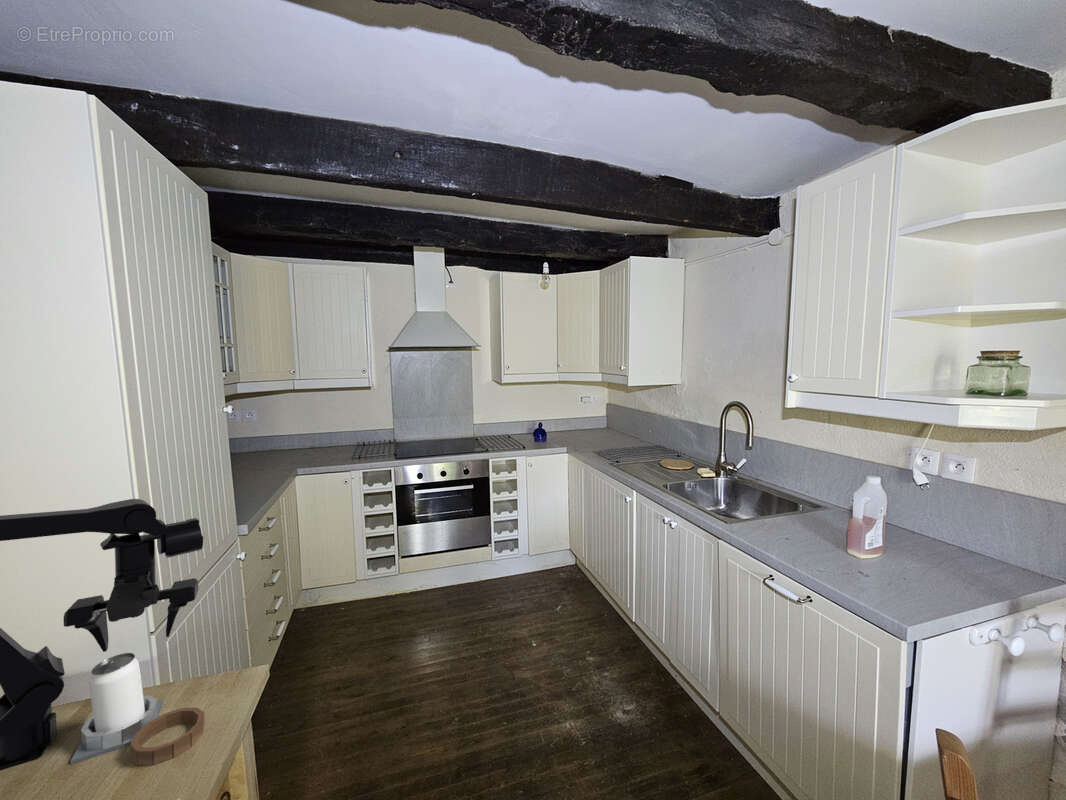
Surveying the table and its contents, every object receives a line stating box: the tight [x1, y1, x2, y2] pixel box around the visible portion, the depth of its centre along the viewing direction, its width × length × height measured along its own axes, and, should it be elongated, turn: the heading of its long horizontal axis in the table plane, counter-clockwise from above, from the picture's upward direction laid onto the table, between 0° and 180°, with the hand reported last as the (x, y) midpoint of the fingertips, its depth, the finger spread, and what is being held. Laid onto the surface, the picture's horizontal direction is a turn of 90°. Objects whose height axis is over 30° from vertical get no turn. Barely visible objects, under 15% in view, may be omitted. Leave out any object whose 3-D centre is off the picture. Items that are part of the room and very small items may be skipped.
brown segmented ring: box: [130, 707, 205, 766], centre depth 75 cm, size 10×10×2 cm
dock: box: [70, 695, 164, 765], centre depth 78 cm, size 10×10×3 cm
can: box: [88, 652, 145, 733], centre depth 77 cm, size 6×6×12 cm
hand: (137, 643), depth 84 cm, fingers open, 9 cm apart
